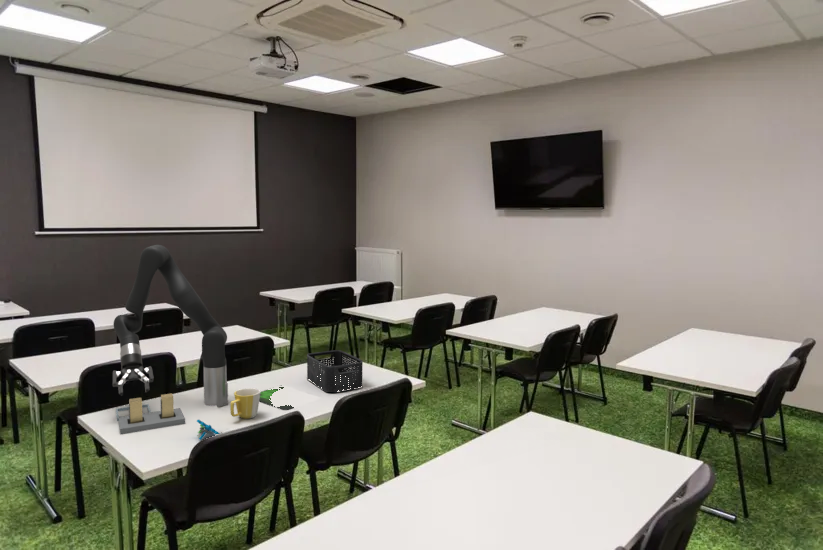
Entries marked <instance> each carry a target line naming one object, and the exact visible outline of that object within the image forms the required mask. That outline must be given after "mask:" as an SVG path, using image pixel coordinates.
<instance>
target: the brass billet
mask: <svg viewBox="0 0 823 550" xmlns="http://www.w3.org/2000/svg"><path fill="white" fill-rule="evenodd" d="M128 402H129V403H128V407H129V410H128V416H129V420H130V424H133V423H139V422H143V420H142V414H143V408H142V405H143V400H142V397H136V398H135V397H134V398H129V400H128Z"/></svg>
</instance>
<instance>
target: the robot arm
mask: <svg viewBox="0 0 823 550" xmlns="http://www.w3.org/2000/svg"><path fill="white" fill-rule="evenodd" d="M157 271H159V272H160V275H162V277H163V278H164V280H165V283H166V285H167V289H168V292H169V295H170V297H171V298H172V301H173V302H174V303H175V304H176V306H177V308H178V309H179V310H180V311H181V313H183V314H184V315H185V316H186V317H187V318H189V319H190V320H191V321H192V322H193V323H195V325H196V326H197V327H198V328H199V331H200V332H201V333H202V335H203V336H202V338H201V359H202V364H203V403H204V405H206V406H210V407H215V406H216V407H217V408H220V407H223V406H227V405H229V390H228V389H229V388H228V387H229V386H228V381H227V358H226V351H225V349H226V346H225V345H226V343H227V342H228V341H227V340H228V335H227V333H226V330H225V329H224V328H223V327H222V326H221V325H220V324H219V323H218V321H217V320H216V319H215V318H214V317H213V316H212V314H211V313H210V311H209V309H208V308H207V306H206V304H205V303H204V301H202V298H201V297H200V295H199V294H198V293H197V292H196V290H195V289H194V287H193V286H192V285H191V283H190V282H189V281H188V279H187V278H186V277H185V275H184V274H183V272H182V271H181V269H180V268H179V266H178V265H177V263H176V260H175V259H174V257H173V256H172V254H171V253H170V251H169V249H168V248H167V247H165V246H164V245H161V244H154V245H153V244H152V245H151V246H147V247H145V248H144V249H143V250H142V251H141V253H140V258H139V262H138V267H137V273H136V277H135V279H134V282H133V286H132V289H131V291H130V293H129V296H128V298H127V300H126V303H125V309H126V311H128V312H130V313H131V314H133V315H128V314H119V315H117V316H116V317H115V318H114V320H113V329H114V332H115V334H116V335H117V337H118V338H117V339H118V340H119V344H120V353H119V355H120V357H119V359H120V365H121V367H120V369H121V370H120V371H119V370H118V371H117V370H113V371H112V387H113V388H118V389H117V391H118V395H120V396H121V397H122V396H124V389H123V386H124V384H126V382H127V381H128V382H132V381H138V380H139V381H141V382H143V384H144V390H145V392H144V393H148V392H149V391H150V383H154V378H155V377H154V372H153V368H152V366H151V365H150V366H148V367H145V368H144V366H143V358H142V357H143V356H142V349H141V345H140V338H139V335H138V334H137V333H138V332H140V331H141V330H142V328H143V318H144V317H143V315H144V310H145V307H146V305H147V302H148V300H149V297H150V293H151V284H152V281H153V278H154V276H155V275H156V272H157ZM144 373H146V374H148V377H147V376H146V375H145V374H144ZM120 376H121V379H120V380H119V381H117V378H119V377H120Z"/></svg>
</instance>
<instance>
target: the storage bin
mask: <svg viewBox="0 0 823 550" xmlns="http://www.w3.org/2000/svg"><path fill="white" fill-rule="evenodd" d="M325 355H326V356H327V355H329V356H330V357H326V358H320V359H316V357H317V356H325ZM306 358H307V360H306V361H307V363H306V365H307V366H306V368H307V369H306V371H307V373H306V376H307V377H306V379H307V378H308V379H310V380H311V381H312V382H314V383H315V384H316V385H317V386H319V387H320V388H321V387H322V389H323V390H324V391H323V390H322V389H321V390H322V391H323V392H325V391H326V392H325V393H327V392H337V391H338V390H339V391H342V390H343V389H344V390H347V389H350V388H351V389H354V388H358V387H361V386H362V387H363V361H364V360H362V359H360V358H358V357H356V356H354V355H352V354H350V353H347V352H346V351H343V350H341V349H340V350H338V349H335V350H326V351H321V352H311V353H307V355H306ZM320 374H321V375H320ZM340 375H341V376H340ZM317 376H318V377H317ZM335 376H336V377H335ZM345 376H346V377H345ZM340 377H341V378H340ZM320 378H321V379H320ZM335 378H336V379H335ZM348 378H349V379H348ZM340 379H341V380H340ZM320 380H321V381H320ZM335 380H336V381H335ZM348 380H349V381H348ZM340 381H341V382H340ZM348 382H349V383H348ZM353 383H354V384H353ZM335 384H336V385H335ZM348 384H349V385H348ZM316 385H315V386H316ZM343 385H344V386H343ZM317 386H316V387H317ZM348 386H349V387H348ZM350 386H351V387H350ZM319 387H318V388H319ZM320 388H319V389H320Z"/></svg>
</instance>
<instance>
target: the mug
mask: <svg viewBox="0 0 823 550" xmlns="http://www.w3.org/2000/svg"><path fill="white" fill-rule="evenodd" d="M260 392H261V390H260V389H259V388H254V387H247V388H240V389H237V390H235V391H234V395H233V396H234V400H232V401H230V404H229V405H230V415H231V417H233V418H234V417H240V418H241V419H244V420H249V419H254V418H255V417H256V415H257V414H258V410H259V405H260V402H259V399H260ZM234 407H236V413H235V409H234Z"/></svg>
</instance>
